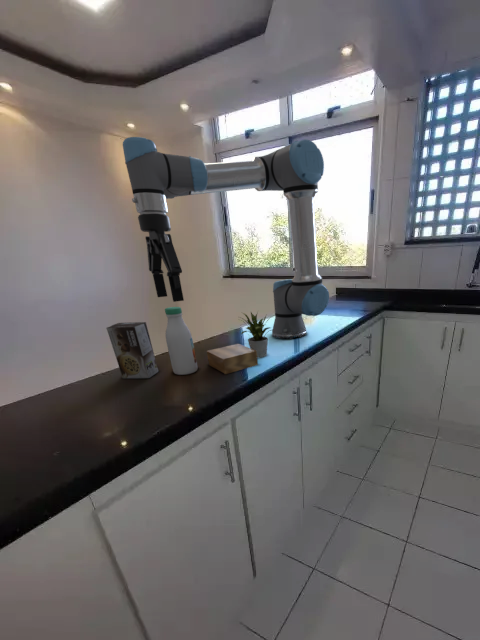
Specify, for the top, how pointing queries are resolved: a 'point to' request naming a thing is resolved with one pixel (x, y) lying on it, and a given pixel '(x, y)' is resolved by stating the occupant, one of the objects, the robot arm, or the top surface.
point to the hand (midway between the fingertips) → (170, 298)
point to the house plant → (257, 335)
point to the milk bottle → (180, 343)
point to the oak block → (232, 358)
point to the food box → (133, 349)
